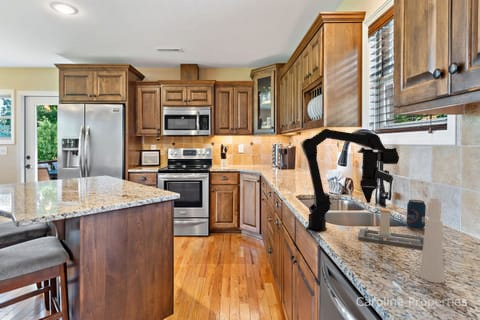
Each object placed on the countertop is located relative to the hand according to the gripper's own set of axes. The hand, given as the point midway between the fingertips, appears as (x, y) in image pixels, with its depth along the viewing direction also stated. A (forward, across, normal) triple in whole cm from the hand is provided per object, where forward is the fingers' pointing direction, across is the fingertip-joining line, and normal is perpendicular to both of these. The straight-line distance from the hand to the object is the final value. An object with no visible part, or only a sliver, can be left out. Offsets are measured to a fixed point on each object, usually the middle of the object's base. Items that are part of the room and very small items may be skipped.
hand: (368, 200), depth 115 cm
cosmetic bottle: (+13, -38, -17) cm, 43 cm away
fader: (+12, -8, -6) cm, 15 cm away
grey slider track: (+13, -8, -9) cm, 18 cm away
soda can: (+13, +16, -19) cm, 28 cm away
